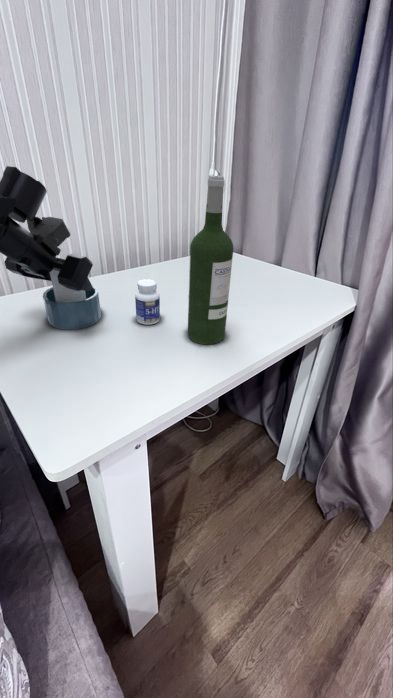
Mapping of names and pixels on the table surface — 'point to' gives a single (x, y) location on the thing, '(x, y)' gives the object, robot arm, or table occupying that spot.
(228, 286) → the wine bottle
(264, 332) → the table surface
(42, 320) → the table surface
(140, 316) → the pill bottle
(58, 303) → the bowl
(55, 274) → the cosmetic box
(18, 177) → the robot arm
